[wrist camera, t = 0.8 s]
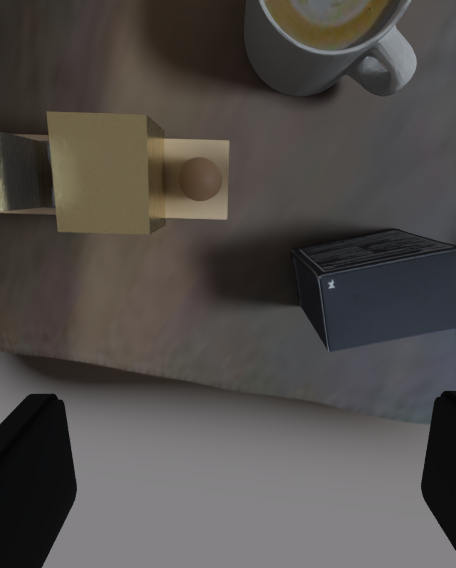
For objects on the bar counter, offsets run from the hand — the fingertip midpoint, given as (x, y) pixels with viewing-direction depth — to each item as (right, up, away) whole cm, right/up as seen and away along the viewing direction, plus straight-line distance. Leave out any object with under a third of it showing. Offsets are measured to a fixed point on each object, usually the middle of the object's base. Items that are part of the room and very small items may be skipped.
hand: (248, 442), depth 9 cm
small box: (+11, +5, +26) cm, 29 cm away
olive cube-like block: (-9, +12, +19) cm, 24 cm away
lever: (-14, +12, +18) cm, 26 cm away
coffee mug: (+7, +24, +21) cm, 33 cm away
